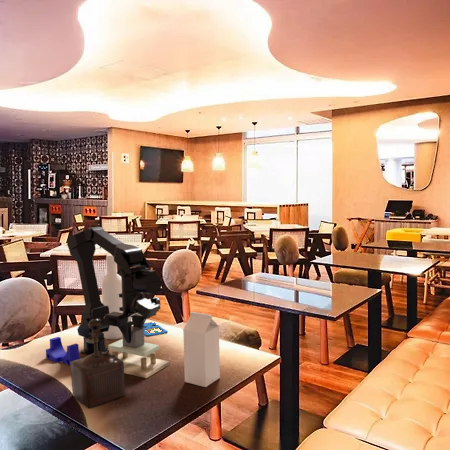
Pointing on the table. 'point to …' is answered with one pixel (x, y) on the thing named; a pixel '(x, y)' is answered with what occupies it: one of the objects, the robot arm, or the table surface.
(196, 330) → the milk carton
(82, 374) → the pepper mill
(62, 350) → the cable clip
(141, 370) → the plate
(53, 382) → the table surface
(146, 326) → the handheld gaming device
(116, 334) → the bottle
